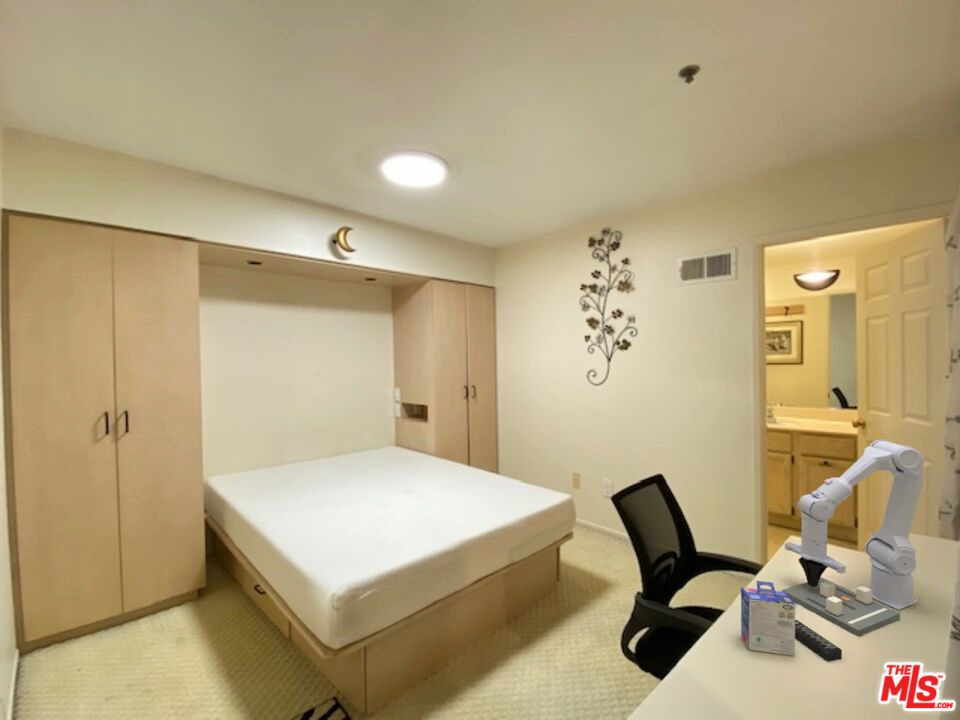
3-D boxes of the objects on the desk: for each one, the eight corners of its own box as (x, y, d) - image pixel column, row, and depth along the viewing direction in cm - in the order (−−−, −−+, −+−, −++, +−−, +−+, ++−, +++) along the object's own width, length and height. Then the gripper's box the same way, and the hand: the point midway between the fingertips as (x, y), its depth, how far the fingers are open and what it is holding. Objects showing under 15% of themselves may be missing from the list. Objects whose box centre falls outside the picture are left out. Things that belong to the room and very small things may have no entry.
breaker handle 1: (831, 606, 110) (831, 594, 110) (844, 613, 107) (844, 601, 107) (823, 609, 109) (824, 597, 109) (837, 616, 106) (837, 604, 106)
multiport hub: (827, 663, 93) (827, 653, 93) (781, 630, 104) (782, 621, 104) (842, 660, 94) (842, 650, 94) (796, 628, 105) (796, 619, 105)
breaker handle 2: (860, 596, 115) (860, 584, 115) (873, 602, 112) (874, 590, 112) (853, 598, 114) (854, 587, 114) (867, 604, 111) (867, 593, 111)
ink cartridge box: (784, 640, 100) (785, 581, 99) (796, 657, 94) (798, 594, 94) (738, 634, 102) (740, 576, 101) (748, 650, 96) (750, 589, 96)
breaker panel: (821, 582, 125) (821, 577, 124) (899, 619, 108) (900, 613, 108) (781, 595, 118) (781, 589, 118) (858, 636, 101) (858, 630, 101)
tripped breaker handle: (824, 591, 117) (825, 579, 117) (836, 597, 114) (837, 585, 114) (817, 593, 116) (818, 582, 116) (830, 599, 113) (830, 587, 113)
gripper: (778, 530, 124) (777, 574, 124) (834, 552, 110) (833, 602, 110) (794, 526, 126) (792, 570, 127) (850, 548, 113) (849, 597, 113)
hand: (812, 585), depth 119 cm, fingers closed
